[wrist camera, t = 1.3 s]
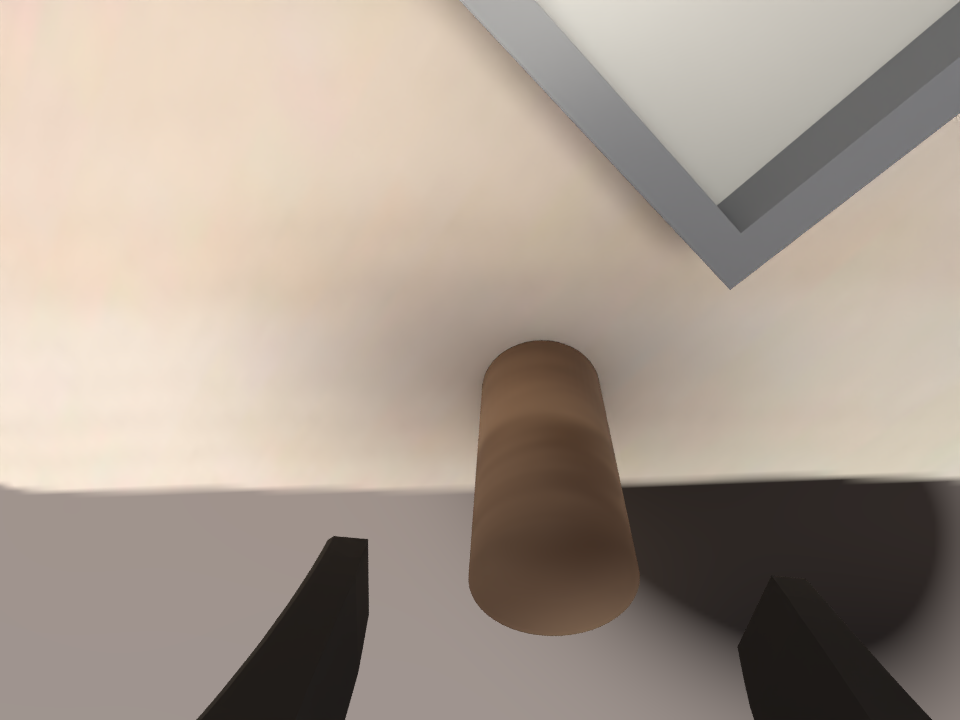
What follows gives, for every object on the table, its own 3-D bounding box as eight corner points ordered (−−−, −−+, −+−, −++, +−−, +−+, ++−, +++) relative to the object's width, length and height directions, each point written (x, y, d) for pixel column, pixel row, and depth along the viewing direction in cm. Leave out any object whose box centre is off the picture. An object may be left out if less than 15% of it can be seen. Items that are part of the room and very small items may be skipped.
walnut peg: (623, 391, 22) (675, 584, 15) (538, 455, 23) (550, 656, 16) (542, 317, 20) (557, 492, 14) (457, 391, 22) (433, 580, 15)
